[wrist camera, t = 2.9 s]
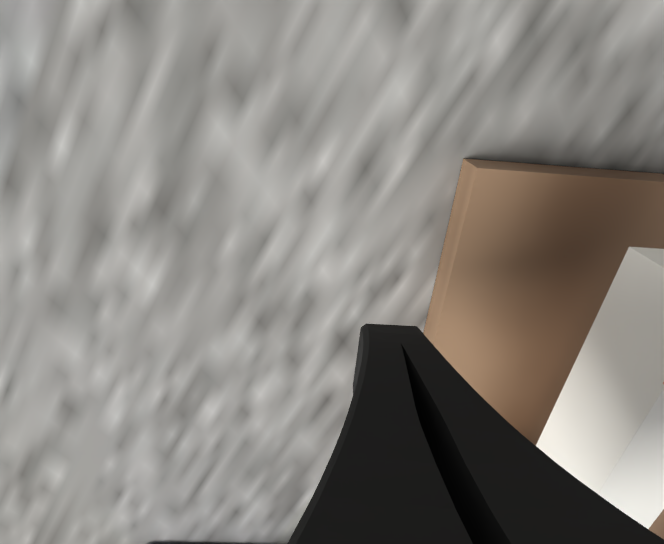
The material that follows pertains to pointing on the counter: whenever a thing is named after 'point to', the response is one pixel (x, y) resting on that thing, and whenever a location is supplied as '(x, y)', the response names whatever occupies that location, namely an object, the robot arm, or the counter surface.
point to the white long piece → (618, 395)
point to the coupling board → (534, 276)
